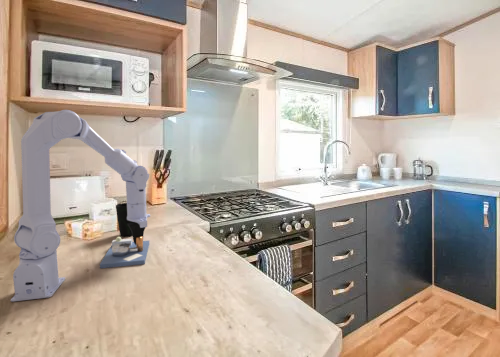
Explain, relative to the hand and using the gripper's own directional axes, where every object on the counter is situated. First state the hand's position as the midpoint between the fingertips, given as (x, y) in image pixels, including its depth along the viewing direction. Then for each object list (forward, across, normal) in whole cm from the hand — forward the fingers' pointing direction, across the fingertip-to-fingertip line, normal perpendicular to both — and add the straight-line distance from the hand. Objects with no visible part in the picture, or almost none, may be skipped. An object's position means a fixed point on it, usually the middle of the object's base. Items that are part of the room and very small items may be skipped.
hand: (138, 243), depth 92 cm
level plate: (+3, +1, +3) cm, 5 cm away
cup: (+3, +22, -2) cm, 23 cm away
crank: (+2, -1, +3) cm, 4 cm away
